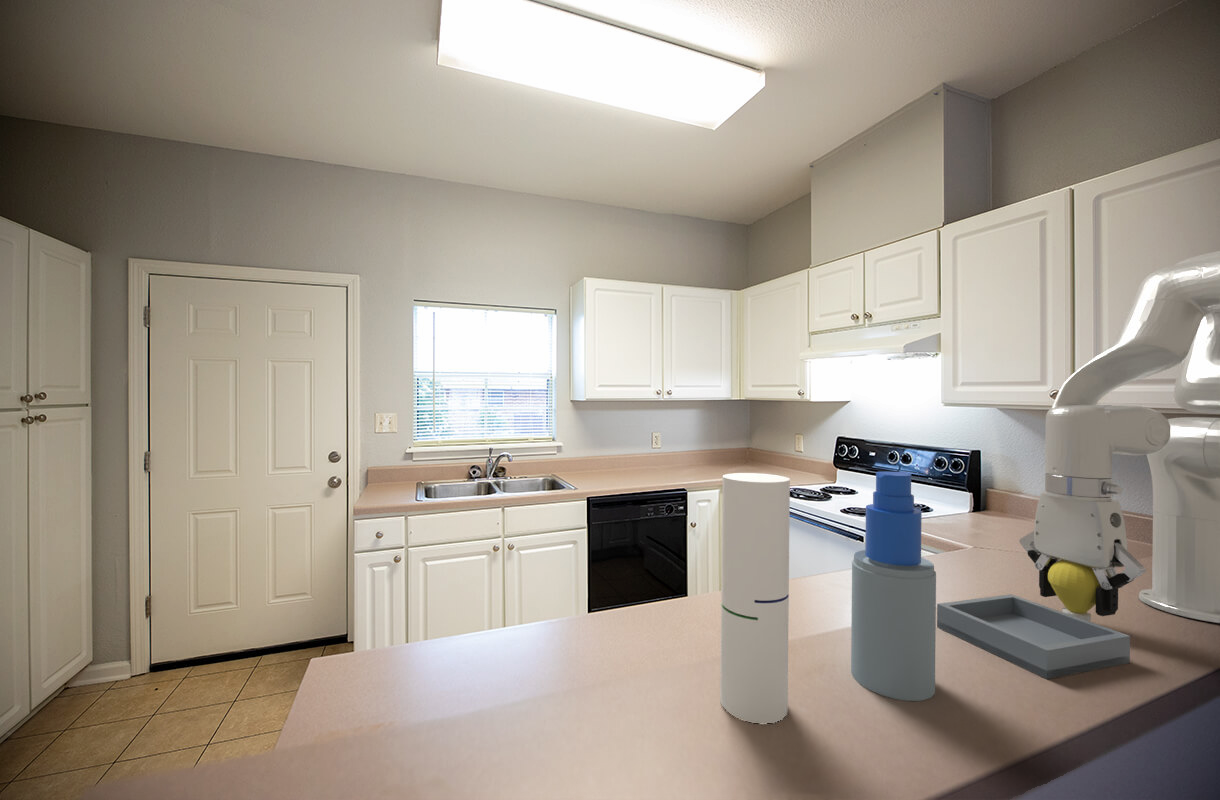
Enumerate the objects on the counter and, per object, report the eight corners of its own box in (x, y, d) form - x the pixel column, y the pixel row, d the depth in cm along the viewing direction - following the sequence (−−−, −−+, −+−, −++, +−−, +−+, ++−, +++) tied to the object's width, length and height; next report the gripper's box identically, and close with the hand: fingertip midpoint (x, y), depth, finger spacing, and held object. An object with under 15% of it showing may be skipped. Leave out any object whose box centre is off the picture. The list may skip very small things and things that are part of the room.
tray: (1010, 616, 81) (1011, 594, 81) (1129, 662, 67) (1130, 635, 67) (936, 627, 77) (937, 603, 77) (1047, 679, 63) (1047, 650, 63)
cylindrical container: (797, 725, 53) (799, 482, 53) (727, 723, 53) (730, 481, 53) (776, 687, 60) (778, 473, 60) (714, 685, 60) (717, 472, 61)
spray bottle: (910, 662, 66) (912, 468, 66) (952, 703, 57) (954, 478, 58) (839, 659, 67) (841, 467, 67) (869, 699, 58) (872, 477, 58)
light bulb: (1036, 614, 82) (1037, 552, 82) (1082, 617, 81) (1083, 553, 81) (1069, 633, 75) (1069, 565, 75) (1119, 636, 75) (1120, 567, 75)
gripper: (1168, 496, 71) (1167, 626, 71) (1033, 478, 88) (1033, 583, 88) (1132, 498, 69) (1131, 632, 69) (1001, 479, 86) (1000, 587, 86)
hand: (1076, 603), depth 78 cm, fingers closed on light bulb, 6 cm apart
